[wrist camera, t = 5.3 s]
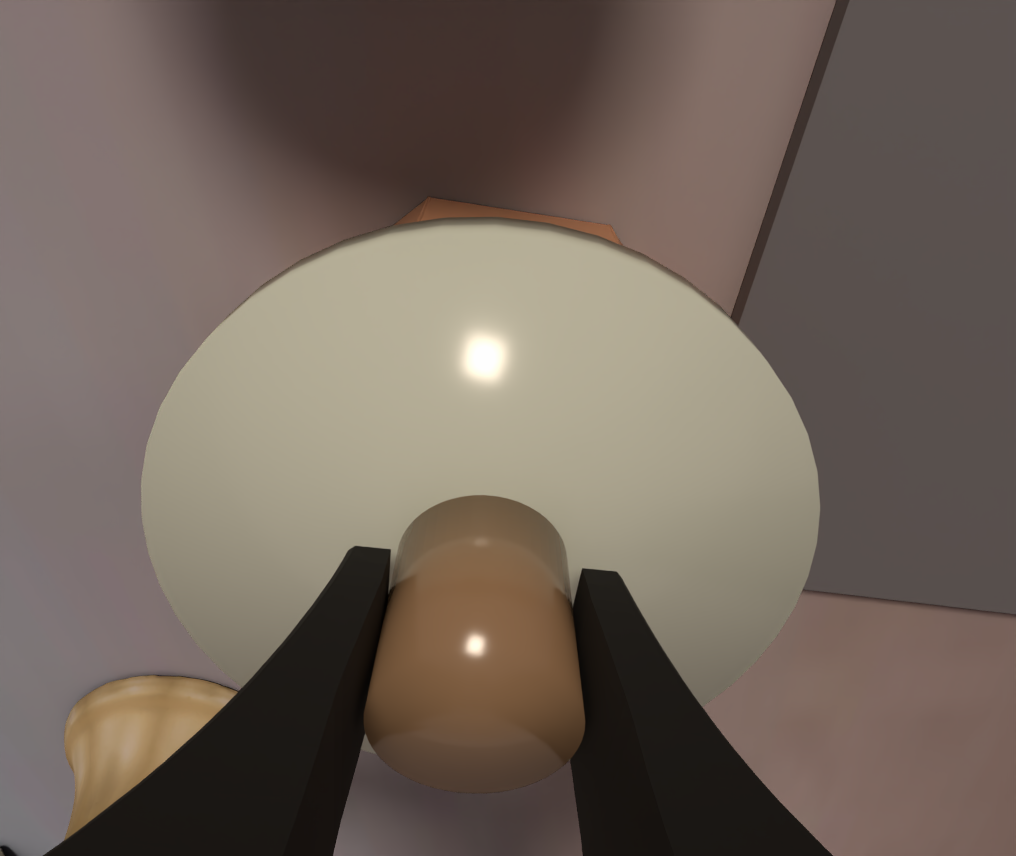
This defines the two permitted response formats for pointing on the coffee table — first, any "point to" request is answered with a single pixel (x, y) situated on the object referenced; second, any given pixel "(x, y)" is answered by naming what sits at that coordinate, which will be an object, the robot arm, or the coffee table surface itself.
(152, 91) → the coffee table surface
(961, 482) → the mat
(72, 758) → the hand bell
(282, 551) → the lid
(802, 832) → the robot arm
